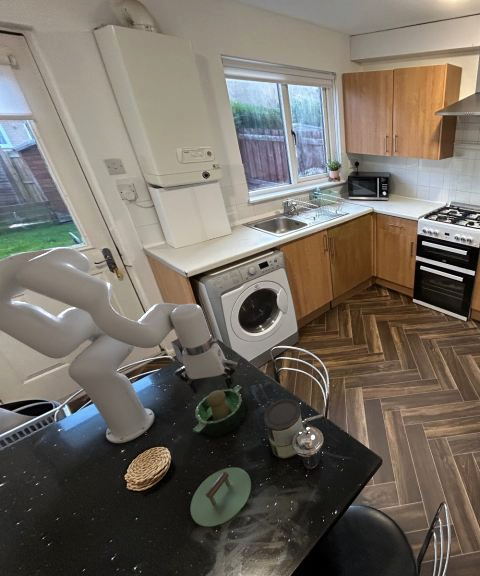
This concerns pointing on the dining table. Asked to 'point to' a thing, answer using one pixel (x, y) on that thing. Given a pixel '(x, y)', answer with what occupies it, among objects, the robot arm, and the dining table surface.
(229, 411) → the cork
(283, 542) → the dining table surface
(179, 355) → the coffee box
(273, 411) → the coffee can
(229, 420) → the pot
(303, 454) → the cup with straw
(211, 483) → the lid
